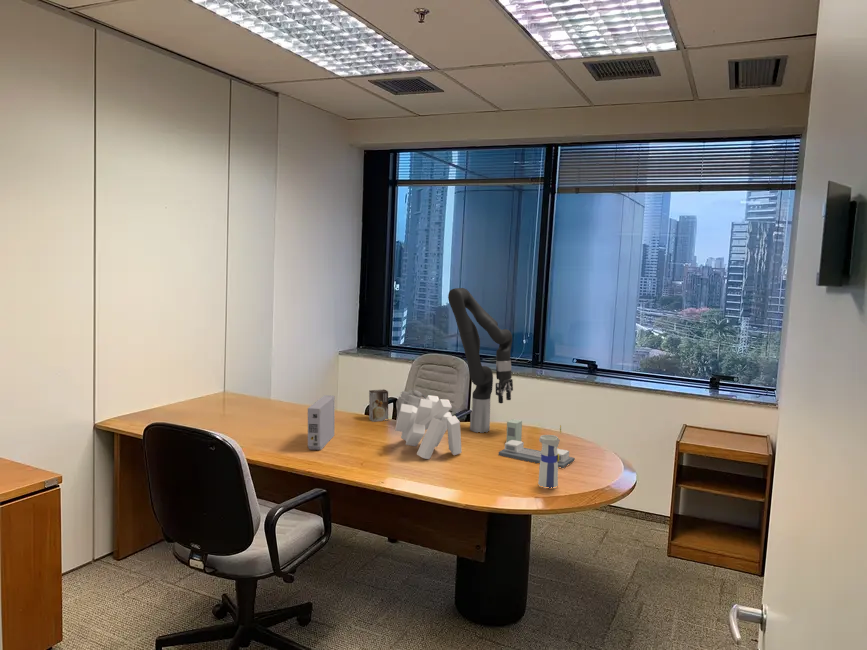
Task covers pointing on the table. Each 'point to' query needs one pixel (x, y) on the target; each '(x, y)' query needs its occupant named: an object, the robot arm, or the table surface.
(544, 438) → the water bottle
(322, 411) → the game console
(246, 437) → the table surface
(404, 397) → the twin engine backpack
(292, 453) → the table surface
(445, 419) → the white angular blocks
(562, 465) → the grey board
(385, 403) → the coffee box
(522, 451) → the mounting plate
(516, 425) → the tall block
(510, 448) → the rectangular blocks
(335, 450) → the table surface
